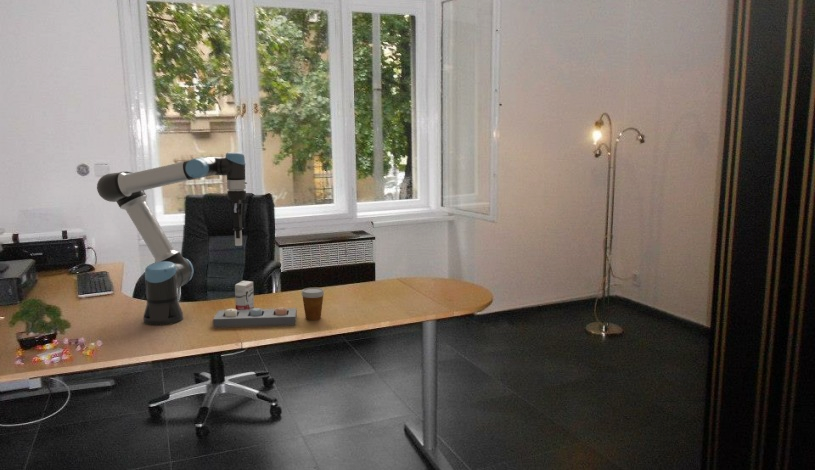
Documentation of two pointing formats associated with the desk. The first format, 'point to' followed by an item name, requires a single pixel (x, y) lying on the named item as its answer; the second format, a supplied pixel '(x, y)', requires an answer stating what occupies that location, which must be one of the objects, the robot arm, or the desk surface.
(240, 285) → the ink box
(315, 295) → the disposable coffee cup
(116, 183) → the robot arm
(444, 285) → the desk surface
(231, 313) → the cream button
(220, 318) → the button panel
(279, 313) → the pink rounded piece
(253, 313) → the slate button
